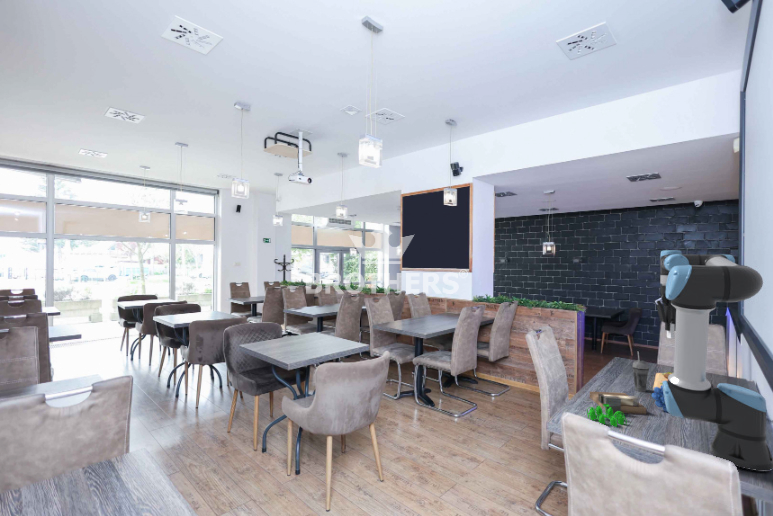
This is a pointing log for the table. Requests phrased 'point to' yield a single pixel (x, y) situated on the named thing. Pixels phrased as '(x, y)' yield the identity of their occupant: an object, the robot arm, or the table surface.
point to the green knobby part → (608, 415)
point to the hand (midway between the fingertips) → (670, 338)
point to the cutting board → (660, 379)
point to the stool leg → (622, 399)
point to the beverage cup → (640, 374)
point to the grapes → (659, 398)
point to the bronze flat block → (617, 403)
